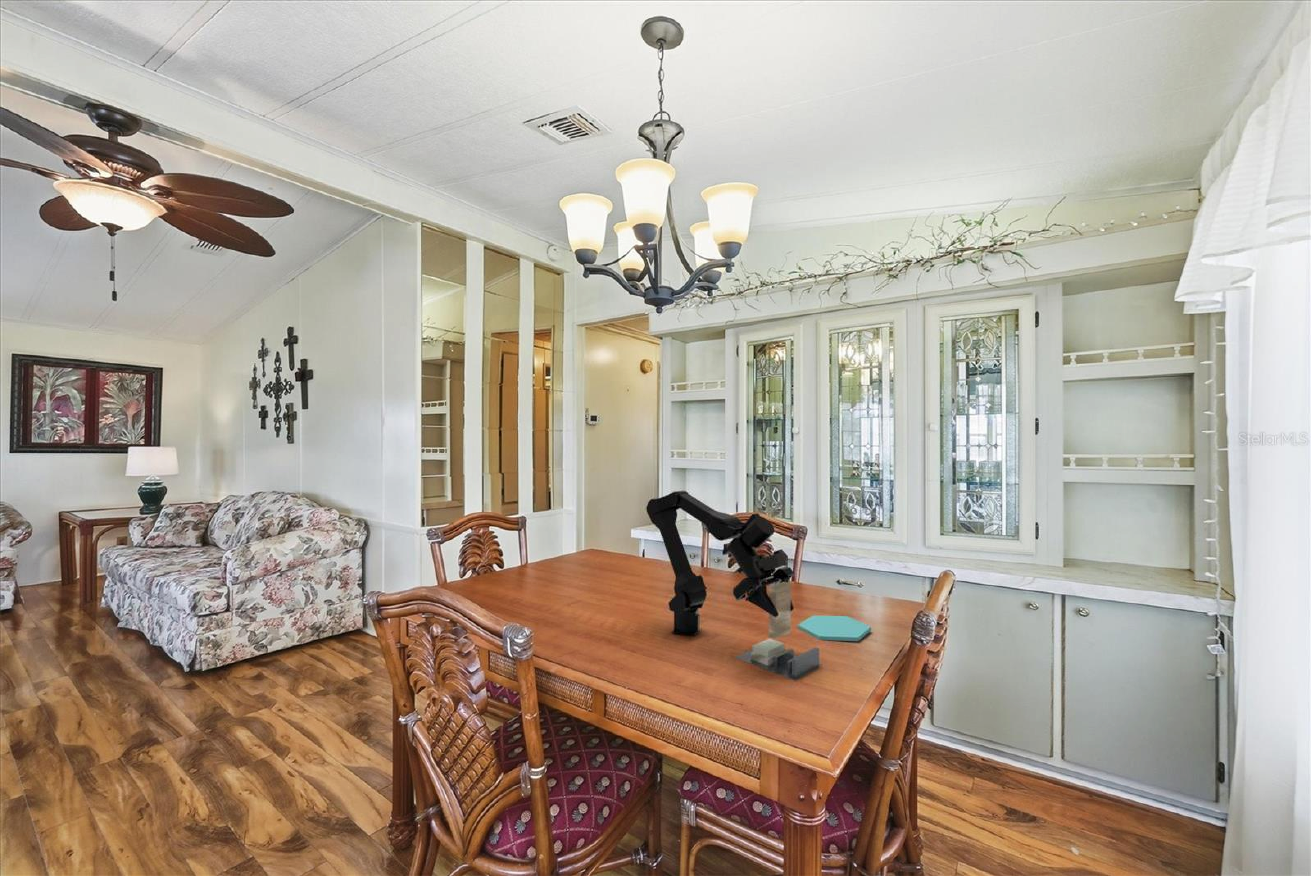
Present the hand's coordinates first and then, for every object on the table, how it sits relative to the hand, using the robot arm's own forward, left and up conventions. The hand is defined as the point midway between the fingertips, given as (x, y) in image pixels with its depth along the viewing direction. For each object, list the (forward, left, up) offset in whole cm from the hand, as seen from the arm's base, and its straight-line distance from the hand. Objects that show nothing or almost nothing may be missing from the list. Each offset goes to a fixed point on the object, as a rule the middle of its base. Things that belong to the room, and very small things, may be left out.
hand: (784, 613), depth 127 cm
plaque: (+12, +30, -14) cm, 35 cm away
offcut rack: (-2, +1, -13) cm, 13 cm away
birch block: (-1, +1, -6) cm, 6 cm away
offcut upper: (-4, +3, -10) cm, 12 cm away
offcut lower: (-4, +2, -12) cm, 13 cm away
